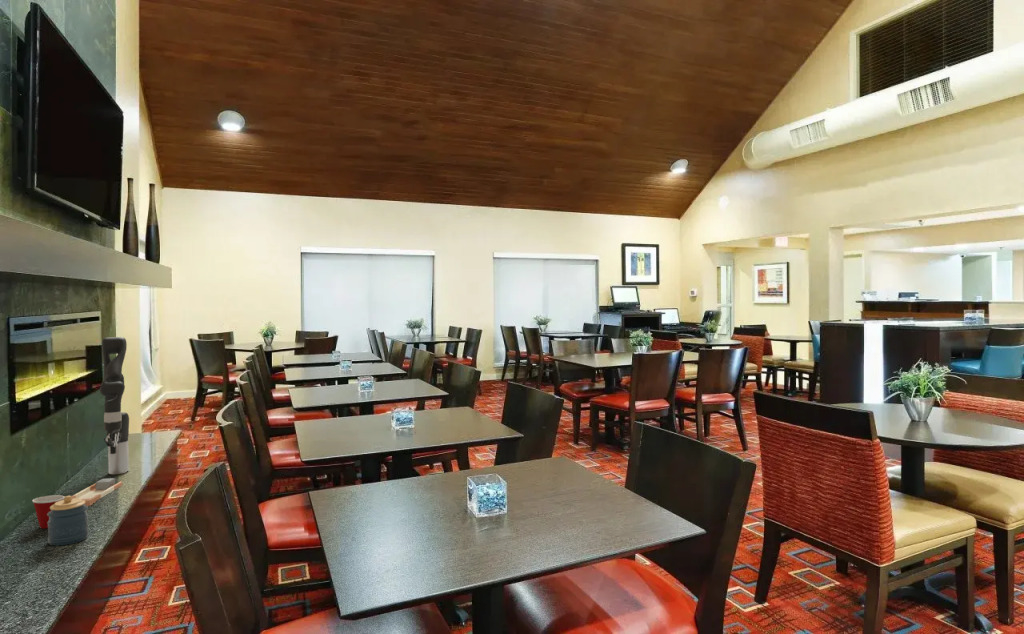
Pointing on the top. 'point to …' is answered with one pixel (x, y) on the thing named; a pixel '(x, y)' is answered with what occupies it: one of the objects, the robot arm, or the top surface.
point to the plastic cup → (45, 508)
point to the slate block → (105, 483)
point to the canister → (67, 521)
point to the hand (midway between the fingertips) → (113, 453)
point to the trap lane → (94, 493)
